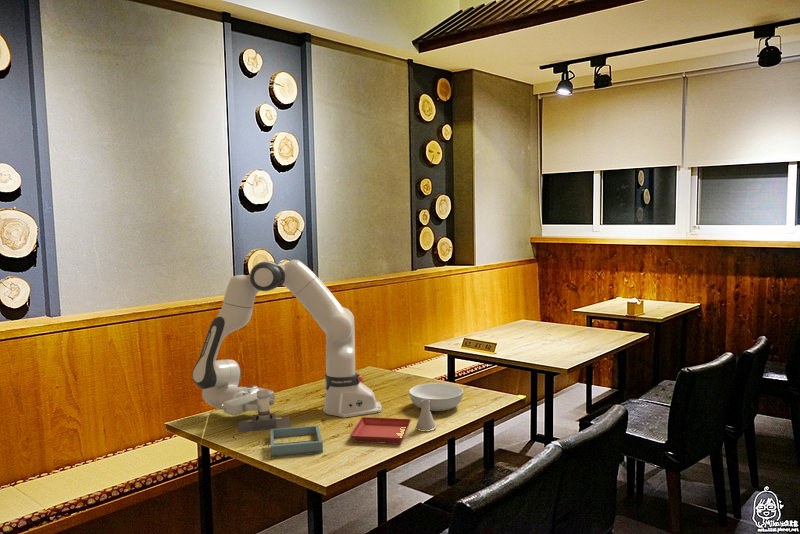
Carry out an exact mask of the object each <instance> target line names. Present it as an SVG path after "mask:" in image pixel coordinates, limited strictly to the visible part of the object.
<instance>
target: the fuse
mask: <svg viewBox="0 0 800 534" xmlns="http://www.w3.org/2000/svg"><path fill="white" fill-rule="evenodd" d="M266 389H267V388H263V390H258V391H257V398H258V405H259V406H260V407H259V408H260V409H259V410H257V414H258V420H270V419H271V418H270V413H271V411H270V410H271V409H270V407H271V406H270V405H269V397H270V392H269V390H270V389H268V390H266Z"/></svg>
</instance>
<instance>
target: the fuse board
mask: <svg viewBox="0 0 800 534" xmlns="http://www.w3.org/2000/svg"><path fill="white" fill-rule="evenodd" d="M270 418H271V419H270V420H258V413H257V414H252V419H247V420H238V424H237V425H238V426H237V433H248V432H257V431H258V432H259V431H270V429H280V428H291V427H292V426H291V420H290V416H285V417H281V416H280V417H277V416H276V412H273V413H272V412H270Z"/></svg>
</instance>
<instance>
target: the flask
mask: <svg viewBox="0 0 800 534" xmlns="http://www.w3.org/2000/svg"><path fill="white" fill-rule="evenodd" d="M421 403H422V408H420V413H419V417H418V420H417V422H416V425H415V428H417V429H420V430H430V429H432V428H434V427H435V425H436V423H435V420H434V417H433V415H432V411H430V406H429V403H430V400H421Z"/></svg>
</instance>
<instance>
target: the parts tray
mask: <svg viewBox="0 0 800 534" xmlns="http://www.w3.org/2000/svg"><path fill="white" fill-rule="evenodd" d="M269 431H270V432H269V433H270V434H269V435H270V458H271V459H272V457H273V458H283V457H292V456H293V457H294V456H301V455H302V456H303V455H314V454H323V453H324V449H323V448H324V444H323V439H322V434H321V430H320V426H319V425H317V424H315V425H305V426H304V425H303V426H295V427H294V426H293V427H292V426H291V428H280V429H270V430H269ZM305 435H306V436H307V435H315V437H316V439H315V440H313V439H312V440H306V441H305V440H303V441H292V442H290V441H289V442H282V443H279V442H278V443H275V438H284V437H294V436H305Z"/></svg>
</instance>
